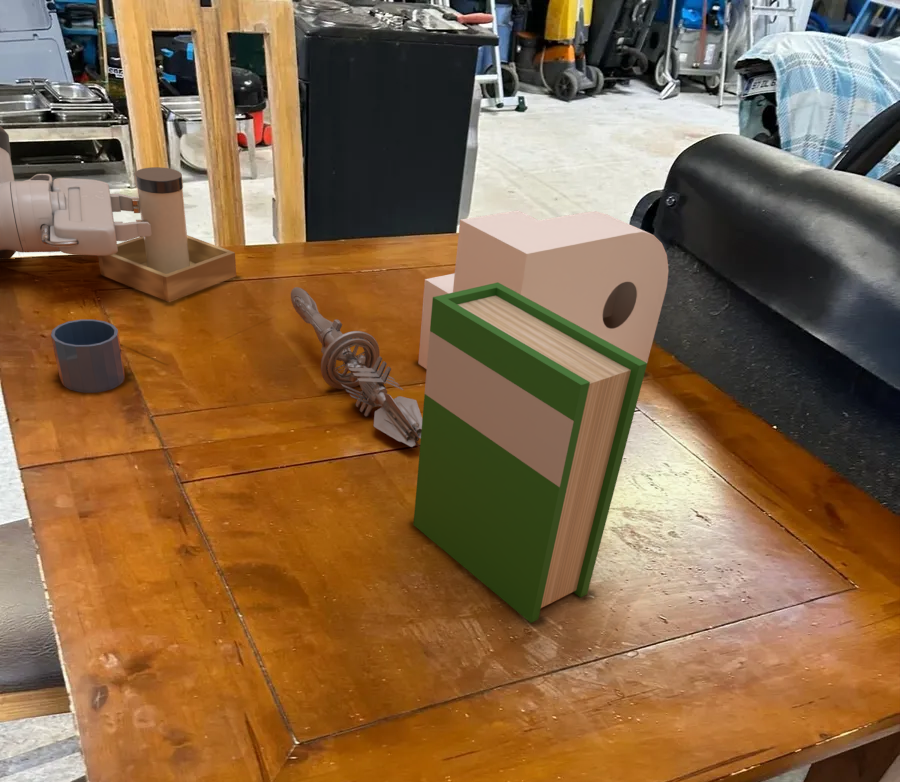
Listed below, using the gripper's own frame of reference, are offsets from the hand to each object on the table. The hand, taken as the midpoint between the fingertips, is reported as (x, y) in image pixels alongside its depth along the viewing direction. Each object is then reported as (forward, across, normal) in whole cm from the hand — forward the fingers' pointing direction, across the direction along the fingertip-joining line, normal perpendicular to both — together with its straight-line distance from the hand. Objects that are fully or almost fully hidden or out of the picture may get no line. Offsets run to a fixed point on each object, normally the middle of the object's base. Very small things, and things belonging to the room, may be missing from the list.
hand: (148, 216), depth 124 cm
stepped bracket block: (+46, -35, +9) cm, 58 cm away
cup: (-10, -30, +9) cm, 33 cm away
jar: (+2, 0, +8) cm, 9 cm away
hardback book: (+27, -73, +9) cm, 78 cm away
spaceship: (+20, -36, +9) cm, 43 cm away
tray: (+2, 0, +9) cm, 9 cm away
